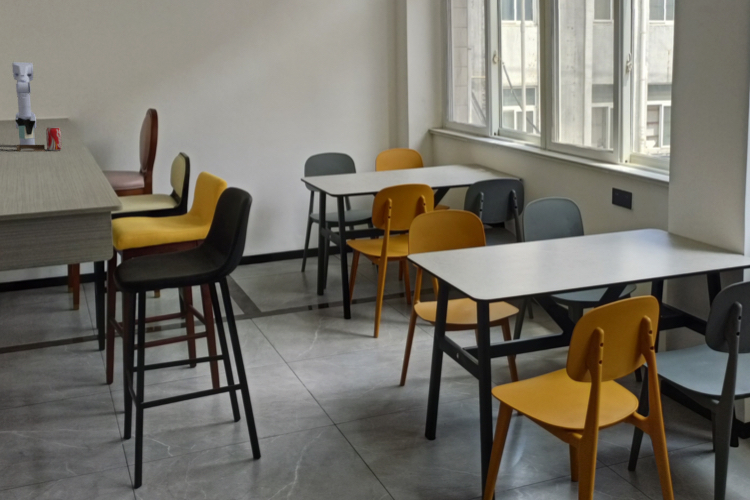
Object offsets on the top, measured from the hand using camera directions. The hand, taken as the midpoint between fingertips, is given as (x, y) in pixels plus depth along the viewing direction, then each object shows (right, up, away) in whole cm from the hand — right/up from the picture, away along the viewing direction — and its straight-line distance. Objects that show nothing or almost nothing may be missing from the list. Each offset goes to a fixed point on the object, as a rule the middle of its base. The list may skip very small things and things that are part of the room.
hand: (26, 134), depth 386 cm
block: (0, -2, +1) cm, 2 cm away
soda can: (+11, -7, +8) cm, 15 cm away
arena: (+1, -8, +4) cm, 9 cm away
